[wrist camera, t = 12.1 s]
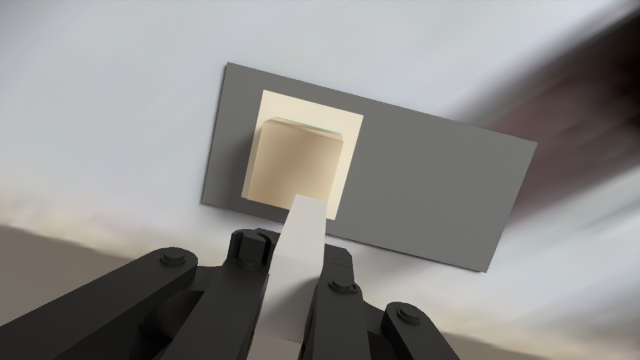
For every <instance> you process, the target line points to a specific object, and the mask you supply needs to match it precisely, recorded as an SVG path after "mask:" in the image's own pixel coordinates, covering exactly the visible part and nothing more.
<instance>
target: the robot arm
mask: <svg viewBox="0 0 640 360" xmlns="http://www.w3.org/2000/svg"><path fill="white" fill-rule="evenodd" d="M326 214H327V202H326V201H322V200H318V199H314V198H310V197H306V196H302V195H298V194H296V196H295V199H294V201H293V204H292V207H291V209H290V212H289V214H288V217H287V219H286V222H285V225H284V227H283V230H282V232H281V233H277V232H273V231H269V230H265V229H261V228H257V229H255V230H252V229H241V230H236V231H235V232H233V233H232V235H231V240H230V245H229V250H228V255H227V259H226V260H225V262H224V263H223V265H222V266H216V267H206V266H197V263H198V258H197V257H196V255H195V254H193V253H192V252H190V251H188V250H184V249H182V248H178V247H176V248H175V247H169V248H161V249H158V250H155V251H152V252H150V253H148V254H146V255H144V256H142V257H140V258H138V259H136V260H134V261H132V262H130V263H128V264H126V265H124V266H122V267H120V268H118V269H116V270H114V271H112V272H110V273H108V274H106V275H104V276H102V277H100V278H98V279H96V280H94V281H92V282H90V283H88V284H86V285H83V286H81V287H79V288H77V289H75V290H74V291H72V292H69V293H67V294H65V295H63V296H61V297H59V298H57V299H55V300H53V301H51V302H49V303H47V304H45V305H43V306H41V307H39V308H37V309H35V310H33V311H31V312H29V313H27V314H25V315H23V316H21V317H19V318H17V319H15V320H13V321H11V322H9V323H7V324H5V325H3V326H1V327H0V360H246V359H247V356H248V353H249V350H250V347H251V344H252V340H253V336H254V332H256V333H260V334H264V335H268V336H272V337H277V338H281V339H285V340H288V341H293V342H297V343H301V342H302V339H303V342H302V345H301V349H300V353H299V356H298V360H460V359H459V357H458V356H457V355H456V353H455V352H454V351H453V349H452V348H451V347H450V345H449V344H448V343H447V342H446V340H445V339H444V337H443V336H442V335H441V333H440V332H439V330H438V329H437V328H436V326H435V325H434V324H433V322H432V321H431V320H430V318H429V317H428V316H427V315H426V314H425V313H424V312H422V311H421V310H419V309H418V308H417V307H415V306H413V305H411V304H408V303H402V302H391V303H389V304H388V305H387V307H386V309H385V311H383V310H380V309H378V308H376V307H374V306H372V305H370V304H368V303H367V302H365V301H364V300H363V297H362V291H361V289H360V287H359V286H358V285H357V284H356V283H355V282H354V273H353V264H352V256H351V254H350V253H349V252H348V251H347V250H346V249H344V248H340V247H336V246H332V245H328V244H324V243H325V228H326ZM303 336H304V337H303Z"/></svg>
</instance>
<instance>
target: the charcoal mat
mask: <svg viewBox="0 0 640 360" xmlns="http://www.w3.org/2000/svg"><path fill="white" fill-rule="evenodd" d="M273 117H279V118H283V119H287V120H290V121H294V122H298V123H302V124H306V125H310V126H314V127H318V128H322V129H325V130H329V131H333V132H337V133H341V134H342V138H343V141H344V144H343V147H342V151H341V155H340V158H339V162H338V166H337V169H336V173H335V177H334V181H333V184H332V188H331V192H330V195H329V199H328V203H327V214H326V228H325V233H327V234H331V235H335V236H339V237H343V238H347V239H351V240H355V241H359V242H363V243H367V244H371V245H375V246H379V247H383V248H387V249H391V250H395V251H399V252H404V253H408V254H412V255H416V256H420V257H424V258H428V259H432V260H436V261H440V262H444V263H448V264H452V265H456V266H460V267H464V268H468V269H472V270H476V271H480V272H484V273H486V272H487V270H488V267H489V265H490V262H491V260H492V257H493V255H494V252H495V250H496V247H497V245H498V242H499V240H500V237H501V235H502V232H503V230H504V227H505V225H506V222H507V220H508V217H509V214H510V212H511V209H512V207H513V204H514V202H515V199H516V197H517V194H518V192H519V189H520V187H521V184H522V182H523V179H524V177H525V174H526V172H527V169H528V167H529V164H530V162H531V159H532V157H533V154H534V151H535V149H536V146H537V144H538V143H537V142H533V141H529V140H525V139H522V138H518V137H514V136H510V135H506V134H502V133H499V132H495V131H491V130H487V129H483V128H479V127H475V126H472V125H468V124H464V123H460V122H456V121H452V120H449V119H445V118H441V117H437V116H433V115H429V114H426V113H422V112H418V111H414V110H410V109H406V108H402V107H399V106H395V105H391V104H387V103H383V102H379V101H376V100H372V99H368V98H364V97H360V96H356V95H353V94H349V93H345V92H341V91H337V90H333V89H329V88H326V87H322V86H318V85H314V84H310V83H306V82H303V81H299V80H295V79H291V78H287V77H283V76H280V75H276V74H272V73H268V72H264V71H260V70H256V69H253V68H249V67H245V66H241V65H237V64H233V63H230V62H227V68H226V73H225V79H224V84H223V90H222V95H221V100H220V106H219V111H218V117H217V122H216V128H215V133H214V139H213V144H212V150H211V155H210V161H209V166H208V172H207V177H206V182H205V188H204V193H203V199H202V203H205V204H209V205H213V206H217V207H221V208H225V209H229V210H233V211H238V212H242V213H246V214H250V215H254V216H258V217H262V218H266V219H270V220H274V221H278V222H282V223H285V222H286V219H287V217H288V214H289V212H290V210H289V209H285V208H281V207H277V206H273V205H269V204H265V203H261V202H257V201H253V200H249V199H247V196H248V191H249V187H250V182H251V177H252V173H253V168H254V163H255V159H256V154H257V149H258V144H259V140H260V135H261V130H262V126H263V122H264V121H266V120H269V119H271V118H273Z"/></svg>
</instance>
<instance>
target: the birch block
mask: <svg viewBox="0 0 640 360" xmlns="http://www.w3.org/2000/svg"><path fill="white" fill-rule="evenodd" d="M343 144H344V141H343V138H342V134H341V133H337V132H333V131H329V130H325V129H322V128H318V127H314V126H310V125H306V124H302V123H298V122H294V121H290V120H287V119H283V118H279V117H273V118H271V119H269V120H266V121H264V122H263V126H262V130H261V135H260V140H259V144H258V149H257V154H256V159H255V163H254V168H253V173H252V177H251V182H250V187H249V191H248V196H247V199H249V200H253V201H257V202H261V203H265V204H269V205H273V206H277V207H281V208H285V209H289V210H290V209H291V207H292V204H293V201H294V199H295V196H296V194H298V195H302V196H306V197H310V198H314V199H318V200H322V201H326V202H327V203H328V199H329V195H330V192H331V188H332V184H333V181H334V177H335V173H336V169H337V166H338V162H339V158H340V155H341V151H342V147H343Z"/></svg>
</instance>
